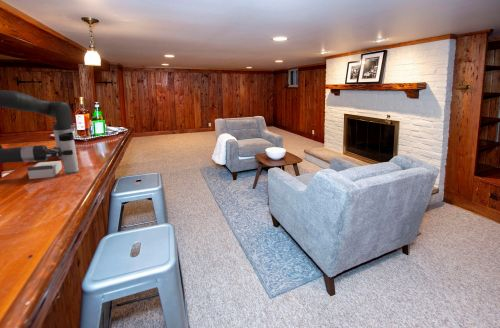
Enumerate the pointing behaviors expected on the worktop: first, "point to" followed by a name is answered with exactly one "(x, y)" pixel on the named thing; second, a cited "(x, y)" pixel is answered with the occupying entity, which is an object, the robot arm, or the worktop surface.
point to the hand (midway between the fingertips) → (74, 150)
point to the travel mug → (69, 160)
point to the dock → (44, 169)
